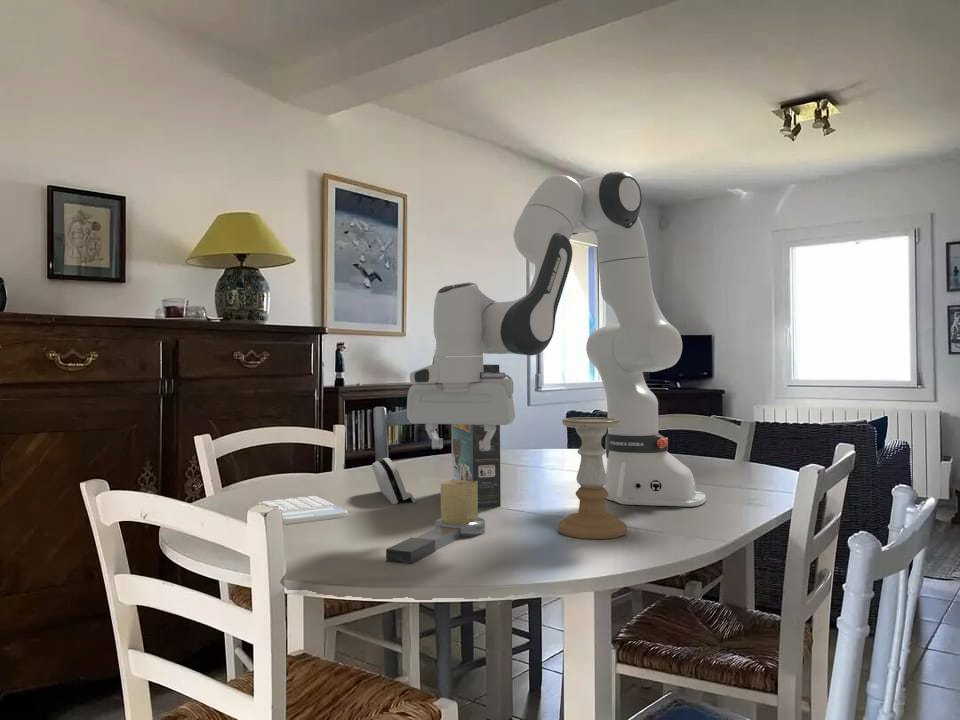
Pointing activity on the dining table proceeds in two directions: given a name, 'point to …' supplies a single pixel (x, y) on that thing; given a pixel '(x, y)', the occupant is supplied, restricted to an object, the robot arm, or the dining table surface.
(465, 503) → the tan rectangular block
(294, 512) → the calculator
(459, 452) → the cake mix box
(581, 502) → the candle holder
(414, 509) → the dining table surface
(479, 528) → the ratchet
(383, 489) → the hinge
